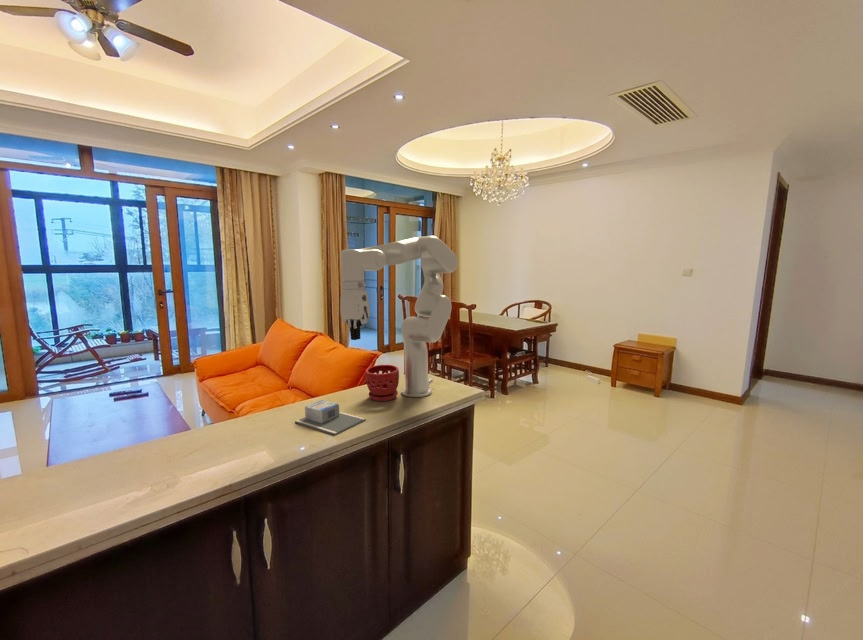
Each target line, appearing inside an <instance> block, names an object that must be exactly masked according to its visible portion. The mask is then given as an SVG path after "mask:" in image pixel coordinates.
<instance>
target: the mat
mask: <svg viewBox="0 0 863 640" xmlns="http://www.w3.org/2000/svg"><path fill="white" fill-rule="evenodd" d="M365 421H366V418H364V417H360V416H356V415H355V414H354V415H352V414H349V413H345V412H342V411H339V416H338V417H336V418H333V419H331V420H329V421H326V422H324V423H319V422H315V421H312V420H308V419H306V417H302V418H300V419H296V420H295V421H294V423H295V424H297V425H300V426H304V427H306V428H309V429H314V430H315V431H319V432H321V433H322V432H323V433H325V434H329V435H332V436H337V435H339V434H341V433H342V432H344V431H345V432H346V431H347V430H349V429H352V428H353V427H355V426H357V425H359V424H361V423H363V422H365Z"/></svg>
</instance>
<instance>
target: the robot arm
mask: <svg viewBox="0 0 863 640" xmlns="http://www.w3.org/2000/svg"><path fill="white" fill-rule="evenodd" d="M417 260H420V265H421V266H420V267H421V270H422V272H423V277H424V282H423V285H422V287H421V290H420V293H419V295H418V296H417V299H416V301H415V304H414V312H415V313H416V315H418V316H407V317H406V318H405V319H403V321H402V323H401V325H400V331H401V336H402V339H403V340H402V341H403V350H404V351H403V355H404V356H403V358H404V387H403V388H402V389H401V394H402V395H403V396H405V397H410V398H420V397H421V398H423V397H427V396H430V395H431V394H432V392H433V388H432V387H430V384H432V383H434V379H433V378H429V361H428V360H429V357H428V356H429V355H428V354H429V352H428V346H427V343H430V344H431V343H437V342H438V340H440V338H441V337H442V335H443V332H444V330H445V328H446V326H447V323H448V321H449V318H450V316H451V313H452V310H453V309H452V306H453V304H452V301H451V299H450V297H449V296H447V295H445V294H443V291H444V282H443V279H442V277H441V274H451V273H454V272H455V271H456V270H457V269H458V268H459V267H458V266H459V258H458V257H457V255H456V254H455V252H454V251H453V250H452V249H451V248H450V247H449V246H448V245H447V244H446V243H445V242H444V241H443V240H441V239H440V238H439V237H437V236H435V235H427V236H426V235H425V236H416V237H411V238H406V239H402V240H398V241H392V242H387V243H384V244H383V243H382V244H379V245H375V246H369V247H368V246H367V247H364V248H359V249H356V248H355V249H354V248H353V249H352V248H350V249H348V248H347V249H343V250H341V251H340V271H341V289H342V290H340V292H341V293H340V300H339V301H340V304H339V305H340V306H339V307H340V309H339V310H340V316H341V319H342V321H343V322H344V323H345V324H347V325H348V329H350V340H352V341H357V340H360V339H361V328H362V325H363V324H367V323H368V319H370V318H371V310H370V309H371V307H370V300H369V294H368V291H367V289H365V288H366V286H367V284H366V283H365V272H367V271H368V272H375V271H380V270H382V269H383V268H384V267H385V266H395V265H401V264H406V263H408V262H409V263H410V262H412V261H417Z"/></svg>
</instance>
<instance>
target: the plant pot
mask: <svg viewBox="0 0 863 640" xmlns="http://www.w3.org/2000/svg"><path fill="white" fill-rule="evenodd" d="M380 372H381V373H380ZM365 380H366V385H367V389H368V391H369V393H368V397H369V398H370V399H372V400H373V401H378V402H386V401H390V400H393V399H395V398H396V397H397V396H398V394H399V393H398V392H399V391H398V386H399V381H400V370H399V367H398V366H396V365H393V364H377V365H372V366H369V367H368V368H366V369H365Z"/></svg>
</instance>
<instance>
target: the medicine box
mask: <svg viewBox="0 0 863 640" xmlns="http://www.w3.org/2000/svg"><path fill="white" fill-rule="evenodd" d="M304 411H305V412H304V414H305V417H306V419H308V420H312V421H315V422H319V423H324V422H326V421H329V420H331V419H333V418H336V417H338V416H339V412H340V404H339V403H337V402H332V401H328V400H322V399H321V400H318V401H317V402H314V403H311V404H309V405H306V406H305V407H304Z"/></svg>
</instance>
